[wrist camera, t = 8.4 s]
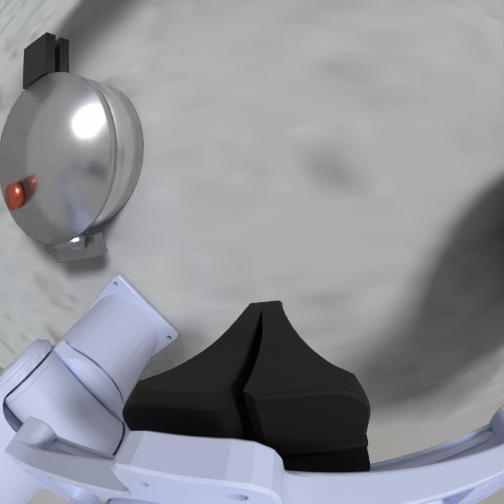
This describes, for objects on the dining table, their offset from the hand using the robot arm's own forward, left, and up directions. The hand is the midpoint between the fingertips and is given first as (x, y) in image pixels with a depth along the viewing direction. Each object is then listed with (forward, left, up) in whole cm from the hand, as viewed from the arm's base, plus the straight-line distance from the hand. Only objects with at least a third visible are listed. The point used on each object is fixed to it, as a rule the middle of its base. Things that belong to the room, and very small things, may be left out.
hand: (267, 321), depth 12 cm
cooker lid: (-6, +18, -6) cm, 20 cm away
